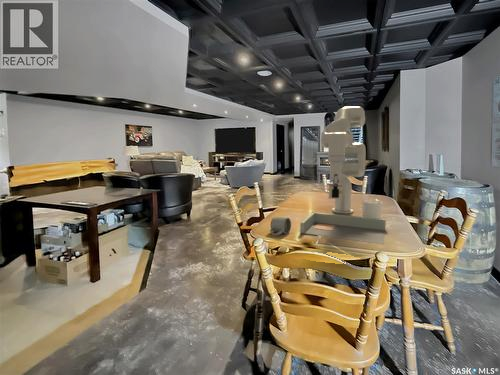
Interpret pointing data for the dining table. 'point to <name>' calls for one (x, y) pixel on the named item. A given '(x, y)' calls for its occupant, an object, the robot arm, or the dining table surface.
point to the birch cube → (331, 192)
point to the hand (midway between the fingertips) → (335, 195)
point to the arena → (344, 227)
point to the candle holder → (372, 208)
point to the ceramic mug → (280, 225)
